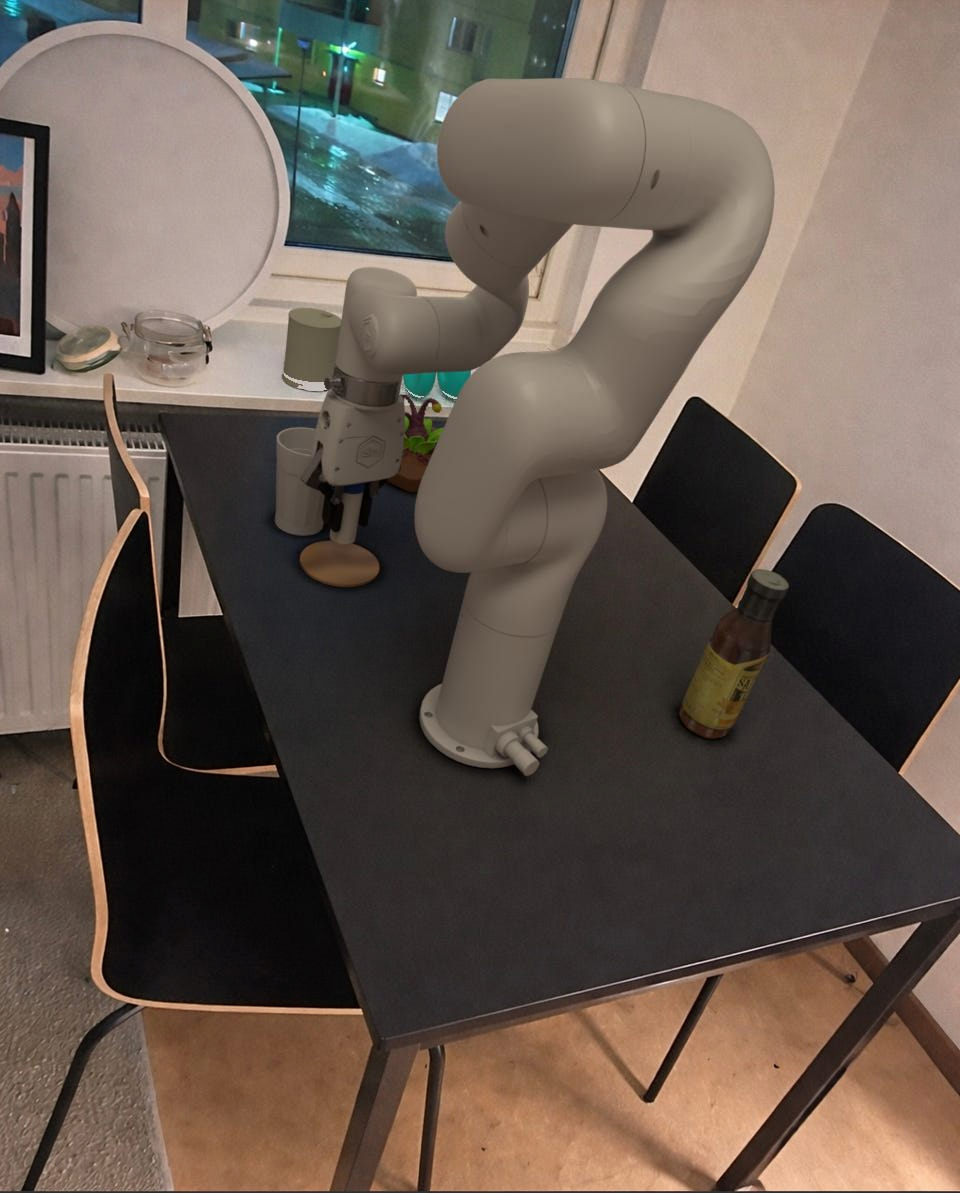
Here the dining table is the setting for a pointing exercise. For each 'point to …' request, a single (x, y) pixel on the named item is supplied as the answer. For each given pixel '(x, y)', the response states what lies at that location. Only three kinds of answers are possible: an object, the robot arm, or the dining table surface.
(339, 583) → the coaster
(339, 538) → the marker
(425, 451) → the plant
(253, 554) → the dining table surface
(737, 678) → the sauce bottle
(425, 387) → the teal oval lobes
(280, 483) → the cup
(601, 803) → the dining table surface
